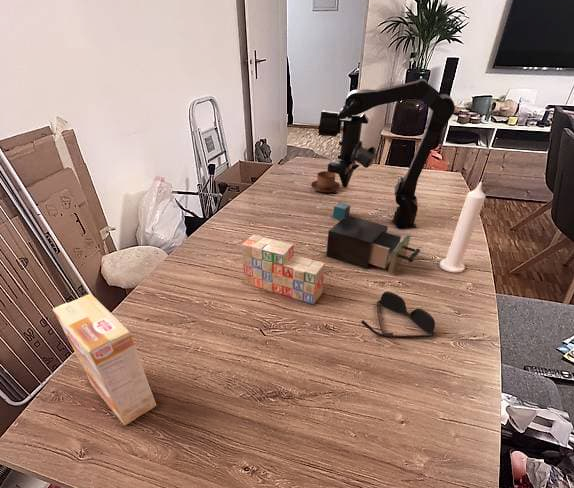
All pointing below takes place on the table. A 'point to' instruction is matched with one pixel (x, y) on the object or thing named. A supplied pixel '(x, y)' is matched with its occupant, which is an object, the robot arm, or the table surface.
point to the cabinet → (353, 240)
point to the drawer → (390, 251)
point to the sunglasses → (398, 305)
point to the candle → (464, 231)
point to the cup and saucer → (325, 182)
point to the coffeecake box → (107, 356)
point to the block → (341, 211)
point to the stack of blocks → (281, 269)
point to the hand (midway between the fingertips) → (345, 187)
